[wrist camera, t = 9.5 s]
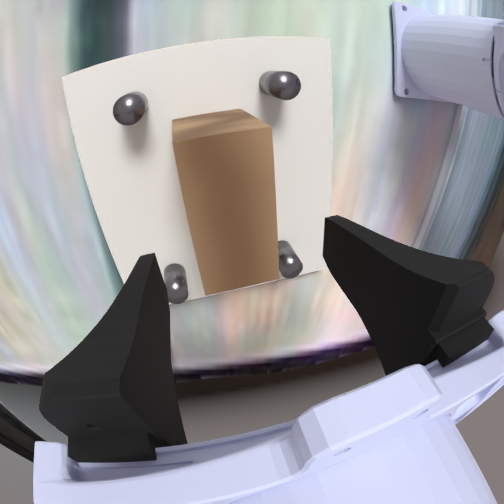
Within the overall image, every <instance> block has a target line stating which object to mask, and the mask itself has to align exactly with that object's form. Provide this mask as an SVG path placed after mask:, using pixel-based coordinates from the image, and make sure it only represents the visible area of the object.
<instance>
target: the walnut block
mask: <svg viewBox="0 0 504 504" xmlns="http://www.w3.org/2000/svg"><path fill="white" fill-rule="evenodd" d="M172 144H173V150H174V155H175V160H176V166H177V171H178V176H179V181H180V186H181V191H182V196H183V201H184V206H185V210H186V215H187V220H188V224H189V229H190V233H191V238H192V242H193V247H194V251H195V255H196V260H197V264H198V268H199V272H200V276H201V280H202V284H203V288H204V292H205V296H207V295H211V294H216V293H220V292H225V291H229V290H234V289H238V288H242V287H247V286H251V285H256V284H260V283H264V282H268V281H273V280H277V279H279V256H278V231H277V209H276V188H275V170H274V152H273V136H272V127H271V126H269V125H268V124H266V123H264V122H263V121H261V120H259V119H258V118H256V117H254V116H253V115H251V114H249V113H247V112H246V111H244V110H242V109H233V110H226V111H219V112H212V113H206V114H200V115H194V116H189V117H184V118H178V119H173V120H172Z"/></svg>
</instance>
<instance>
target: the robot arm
mask: <svg viewBox="0 0 504 504" xmlns="http://www.w3.org/2000/svg"><path fill="white" fill-rule="evenodd" d="M402 7H403V9H404V11H403V10H402ZM392 17H393V33H394V62H395V87H394V90H395V94H396V95H397V96H399V97H405V98H416V99H425V100H434V101H441V102H448V103H455V104H460V105H463V106H466V107H469V108H472V109H474V110H477V111H480V112H483V113H485V114H488V115H490V116H493V117H495V118H498V119H500V120H503V121H504V20H501V19H493V18H485V17H475V16H462V15H438V14H435V13H432V12H430V11H427V10H424V9H421V8H418V7H415V6H412V5H409V4H406V3H402V2H399V1H395V2H393V3H392ZM405 89H406V93H405V92H404V91H405ZM322 256H323V258H324V260H325V262H326V265H327V267H328V268H329V270H330V272H331V274H332V276H333V277H334V279H335V280H336V282H337V283H338V284H339V286H340V287H341V289H342V290H343V292H344V293H345V295H346V296H347V297H348V299H349V300H350V302H351V303H352V305H353V306H354V308H355V309H356V311H357V312H358V314H359V316H360V317H361V319H362V321H363V323H364V325H365V327H366V329H367V331H368V333H369V335H370V337H371V339H372V342H373V344H374V346H375V348H376V351H377V353H378V355H379V358H380V360H381V363H382V366H383V368H384V371H385V374H386V376H385V377H383V378H381V379H378V380H376V381H374V382H371V383H369V384H366V385H364V386H362V387H359V388H356V389H354V390H351V391H349V392H346V393H343V394H341V395H338V396H335V397H332V398H330V399H328V400H326V401H324V402H321V403H319V404H317V405H314V406H312V407H311V408H310V409H308V410H307V411H305V412H304V413H302V414H301V415H299V417H298V418H297V419H295V420H292V421H289V422H285V423H282V424H278V425H274V426H271V427H267V428H263V429H259V430H255V431H251V432H247V433H243V434H238V435H234V436H229V437H224V438H220V439H214V440H208V441H203V442H197V443H190V444H188V443H187V440H186V436H185V432H184V428H183V424H182V420H181V416H180V411H179V406H178V401H177V396H176V391H175V385H174V379H173V373H172V366H171V349H170V308H169V300H168V292H167V288H166V286H165V283H164V280H163V277H162V274H161V271H160V268H159V265H158V262H157V258H156V255H155V253H150V254H146V255H141V256H140V257H139V259H138V260H137V262H136V264H135V266H134V268H133V270H132V271H131V273H130V275H129V277H128V279H127V280H126V282H125V284H124V286H123V287H122V289H121V291H120V292H119V294H118V296H117V297H116V299H115V300H114V302H113V304H112V305H111V307H110V308H109V309H108V311H107V312H106V314H105V315H104V316H103V317H102V319H101V320H100V321H99V323H98V324H97V325H96V326H95V327H94V328H93V330H92V331H91V332H90V333H89V334H88V335H87V336H86V337H85V339H84V340H83V341H82V342H81V343H80V344H79V345H78V346H77V347H76V348H75V349H74V350H73V351H71V352H70V353H69V354H68V355H67V356H66V357H65V358H64V359H63V360H61V361H60V362H59V363H58V364H56V365H55V366H54V367H53V368H51V369H50V370H49V371H48V372H46V373H45V375H44V380H43V385H42V391H41V397H40V404H39V410H40V412H41V414H42V415H43V417H44V418H45V419H47V421H48V422H50V423H51V424H52V425H53V426H55V427H56V428H57V429H59V430H60V431H61V432H63V433H64V434H66V435H67V436H68V445H67V444H63V443H59V442H44V441H36V442H35V451H34V473H33V496H34V497H33V499H34V504H497V502H496V500H495V498H494V496H493V494H492V492H491V490H490V488H489V486H488V484H487V482H486V480H485V478H484V476H483V474H482V472H481V470H480V468H479V467H478V465H477V463H476V461H475V459H474V457H473V456H472V454H471V452H470V451H469V448H468V447H467V445H466V443H465V441H464V440H463V438H462V436H461V435H460V433H459V431H458V429H457V428H456V426H455V424H456V423H458V422H459V421H460V420H462V419H463V418H464V417H466V416H467V415H468V414H469V413H471V412H472V411H473V410H475V409H476V408H477V407H478V406H480V405H481V404H482V403H483V402H484V401H485V400H487V399H488V398H489V397H490V396H491V395H493V394H494V393H495V392H496V391H497V390H498V389H499V388H501V387H502V386H503V385H504V310H502V311H501V312H499V313H498V314H496V315H495V316H494V317H492V318H491V319H490V320H489V322H488V321H487V320H486V319H485V318H484V317H485V316H486V314H487V313H486V311H485V310H484V309H483V308H482V307H483V305H484V303H485V302H486V300H487V297H488V296H489V294H490V292H491V289H492V287H493V284H494V273H493V272H492V271H491V270H490V269H489V268H488V267H487V266H486V265H485V264H484V263H482V262H478V261H469V260H461V259H455V258H449V257H444V256H440V255H436V254H432V253H428V252H425V251H421V250H418V249H415V248H412V247H409V246H407V245H404V244H401V243H399V242H396V241H394V240H391V239H389V238H387V237H384V236H382V235H380V234H378V233H376V232H374V231H371V230H369V229H367V228H365V227H363V226H361V225H359V224H357V223H355V222H352V221H350V220H348V219H346V218H343V217H341V216H338V215H336V216H330V217H325V221H324V239H323V255H322Z"/></svg>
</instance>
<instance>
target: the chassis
mask: <svg viewBox="0 0 504 504" xmlns="http://www.w3.org/2000/svg"><path fill="white" fill-rule="evenodd" d="M62 82H63V88H64V93H65V98H66V103H67V108H68V113H69V118H70V122H71V126H72V131H73V135H74V139H75V143H76V147H77V151H78V154H79V158H80V162H81V165H82V169H83V172H84V176H85V179H86V182H87V185H88V189H89V192H90V195H91V198H92V201H93V204H94V207H95V210H96V213H97V216H98V219H99V222H100V224H101V227H102V230H103V233H104V235H105V238H106V241H107V243H108V246H109V249H110V251H111V254H112V256H113V259H114V261H115V264H116V266H117V268H118V271H119V273H120V276H121V278H122V280H123V283H124V284H125V282H126V280H127V279H128V277H129V275H130V273H131V271H132V270H133V268H134V266H135V264H136V262H137V260H138V259H139V257H140V256H141V255H146V254H150V253H155V255H156V258H157V262H158V265H159V268H160V271H161V274H162V277H163V280H164V283H165V286H166V288H167V292H168V300H169V305H170V304H180V303H183V302H184V301H189V300H194V299H198V298H203V297H207V296H212V295H217V294H221V293H226V292H230V291H235V290H239V289H243V288H248V287H252V286H256V285H261V284H265V283H269V282H273V281H278V280H282V279H286V278H294V277H296V276H298V275H302V274H306V273H310V272H315V271H319V270H322V269H326V266H327V265H326V262H325V260H324V258H323V256H322V255H323V239H324V221H325V217H330V208H331V186H332V148H333V104H332V68H331V47H330V38H323V37H301V36H267V37H245V38H231V39H221V40H211V41H203V42H196V43H189V44H183V45H177V46H171V47H166V48H161V49H156V50H151V51H146V52H142V53H138V54H134V55H130V56H126V57H122V58H118V59H115V60H111V61H108V62H104V63H101V64H98V65H95V66H92V67H89V68H86V69H83V70H80V71H77V72H74V73H71V74H69V75H66V76H63V77H62ZM233 109H242V110H244V111H246V112H247V113H249V114H251V115H253V116H254V117H256V118H258V119H259V120H261V121H263V122H264V123H266V124H268V125H269V126H271V127H272V136H273V152H274V170H275V188H276V209H277V231H278V256H279V279H277V280H273V281H268V282H264V283H260V284H256V285H251V286H247V287H242V288H238V289H234V290H229V291H225V292H220V293H216V294H211V295H207V296H205V292H204V288H203V284H202V280H201V276H200V272H199V268H198V264H197V260H196V255H195V251H194V247H193V242H192V238H191V233H190V229H189V224H188V220H187V215H186V210H185V206H184V201H183V196H182V191H181V186H180V181H179V176H178V171H177V166H176V160H175V155H174V150H173V144H172V120H173V119H178V118H184V117H189V116H194V115H200V114H206V113H212V112H219V111H226V110H233Z"/></svg>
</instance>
